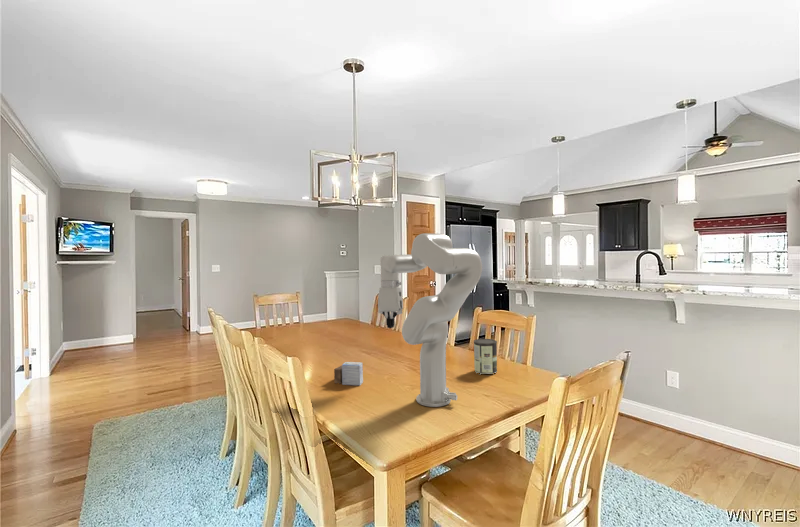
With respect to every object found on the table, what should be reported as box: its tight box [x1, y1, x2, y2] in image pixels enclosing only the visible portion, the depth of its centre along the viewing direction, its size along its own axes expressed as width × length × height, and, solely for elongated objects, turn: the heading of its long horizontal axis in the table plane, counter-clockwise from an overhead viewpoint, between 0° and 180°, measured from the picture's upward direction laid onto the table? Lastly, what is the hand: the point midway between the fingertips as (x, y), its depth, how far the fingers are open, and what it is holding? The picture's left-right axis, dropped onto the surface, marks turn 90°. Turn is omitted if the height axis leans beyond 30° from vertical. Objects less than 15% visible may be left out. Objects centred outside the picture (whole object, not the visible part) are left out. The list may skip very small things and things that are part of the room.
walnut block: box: [333, 365, 342, 385], centre depth 171 cm, size 3×12×6 cm, turn 155°
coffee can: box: [473, 338, 498, 375], centre depth 178 cm, size 10×10×14 cm
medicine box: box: [341, 361, 364, 387], centre depth 165 cm, size 8×4×9 cm, turn 79°
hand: (390, 327), depth 167 cm, fingers closed
